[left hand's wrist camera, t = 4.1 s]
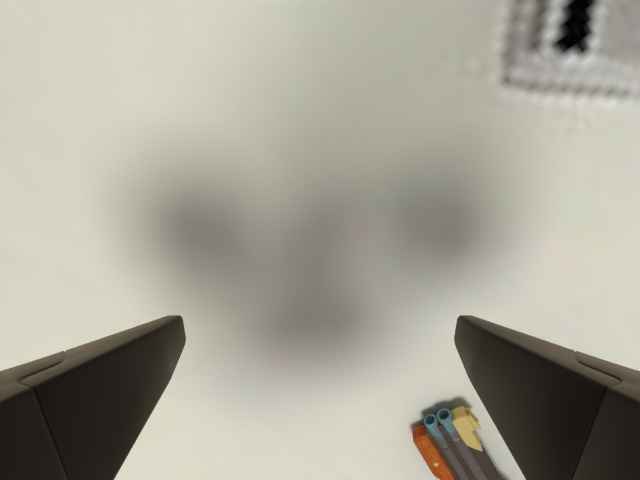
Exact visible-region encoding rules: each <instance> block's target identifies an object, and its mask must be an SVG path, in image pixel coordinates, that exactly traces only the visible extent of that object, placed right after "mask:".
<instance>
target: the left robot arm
mask: <svg viewBox="0 0 640 480" xmlns="http://www.w3.org/2000/svg"><path fill="white" fill-rule="evenodd" d="M185 341H186V336H185V330H184V324H183V319H182V317H181V316H179V315H170V316H166V317H163V318H160V319H157V320H154V321H151V322H148V323H145V324H142V325H140V326H137V327H134V328H131V329H128V330H125V331H122V332H119V333H116V334H113V335H110V336H107V337H104V338H101V339H98V340H96V341H93V342H90V343H87V344H84V345H81V346H78V347H75V348H72V349H69V350H66V352H64V351H62V352H59V353H56V354H53V355H50V356H47V357H44V358H41V359H38V360H35V361H32V362H29V363H26V364H22V365H19V366H16V367H13V368H10V369H6V370H3V371H0V480H114V478H115V477H116V475H117V473H118V471H119V470H120V468H121V466H122V464H123V463H124V461H125V459H126V457H127V455H128V454H129V452H130V450H131V448H132V447H133V445H134V443H135V441H136V440H137V438H138V436H139V434H140V433H141V431H142V429H143V427H144V425H145V424H146V422H147V420H148V418H149V417H150V415H151V413H152V411H153V410H154V408H155V406H156V404H157V403H158V401H159V399H160V397H161V395H162V394H163V392H164V390H165V388H166V387H167V385H168V383H169V381H170V379H171V377H172V375H173V372H174V370H175V368H176V365H177V363H178V360H179V358H180V355H181V353H182V351H183V348H184V346H185ZM454 341H455V346H456V348H457V351H458V353H459V355H460V358H461V360H462V363H463V365H464V368H465V370H466V372H467V375H468V377H469V379H470V381H471V383H472V385H473V387H474V388H475V390H476V392H477V394H478V395H479V397H480V399H481V401H482V403H483V404H484V406H485V408H486V410H487V411H488V413H489V415H490V417H491V418H492V420H493V422H494V424H495V425H496V427H497V429H498V431H499V433H500V434H501V436H502V438H503V440H504V441H505V443H506V445H507V447H508V448H509V450H510V452H511V454H512V455H513V457H514V459H515V461H516V463H517V464H518V466H519V468H520V470H521V471H522V473H523V475H524V477H525V478H526V480H640V371H637V370H634V369H630V368H627V367H624V366H621V365H618V364H614V363H611V362H608V361H605V360H602V359H599V358H596V357H593V356H590V355H587V354H584V353H581V352H578V351H576V352H575V351H574V350H571V349H568V348H565V347H562V346H559V345H556V344H553V343H550V342H547V341H544V340H542V339H539V338H536V337H533V336H530V335H527V334H524V333H521V332H518V331H515V330H512V329H509V328H506V327H503V326H500V325H498V324H495V323H492V322H489V321H486V320H483V319H480V318H477V317H474V316H470V315H461V316H459V317H458V319H457V324H456V330H455V336H454Z"/></svg>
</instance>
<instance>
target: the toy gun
mask: <svg viewBox="0 0 640 480" xmlns="http://www.w3.org/2000/svg"><path fill="white" fill-rule="evenodd" d="M477 422H479V420H478V419H477V418H476V416H475V415H474V414H473V413H472V412H471V411H470V409H469V408H468V407H466V408H465V407H464V406H460V407H457V408H455V409H453V410H451V411H450V410H449V409H447V408H442V409H441V410H439V411H438V413H437V417H436V416H435V415H433V414H429V415H427V416H426V417H425V418H424V425H422V426H419V427H416V428H415V429H414V430H413V431H412V432H413V440H414V443H415V445H416V446H417V448H418V450H419V451H420V453H421V455H422V456H423V458H424V460H425V462H426V463H427V465H428V467H429V468H430V470H431V471H432V473H433V474H434V476H436V477H437V478H439V479H440V480H502V479H501V478H500V476H499V474H498V473H497V471H496V469H495V467H494V466H493V464H492V462H491V461H490V459H489V457H488V456H487V454H486V452H485V450H484V449H483V447H482V445H481V442H480V440H479V439H478V437H477V435H476V433H475V431H474V430H477V429H480V428H481V427H480V425H479V424H478V423H477Z"/></svg>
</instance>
